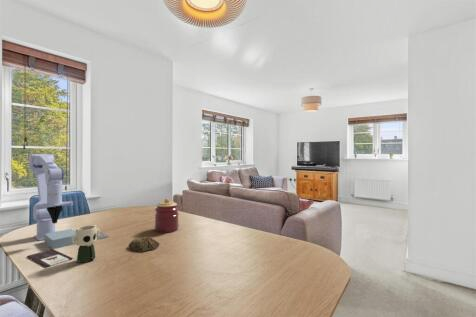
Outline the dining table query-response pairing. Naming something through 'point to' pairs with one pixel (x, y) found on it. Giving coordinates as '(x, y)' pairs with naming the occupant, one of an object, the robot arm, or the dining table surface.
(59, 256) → the chocolate bar
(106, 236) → the mat
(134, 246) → the mossy rock
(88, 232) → the character mug
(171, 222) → the canister
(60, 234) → the plate
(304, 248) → the dining table surface
